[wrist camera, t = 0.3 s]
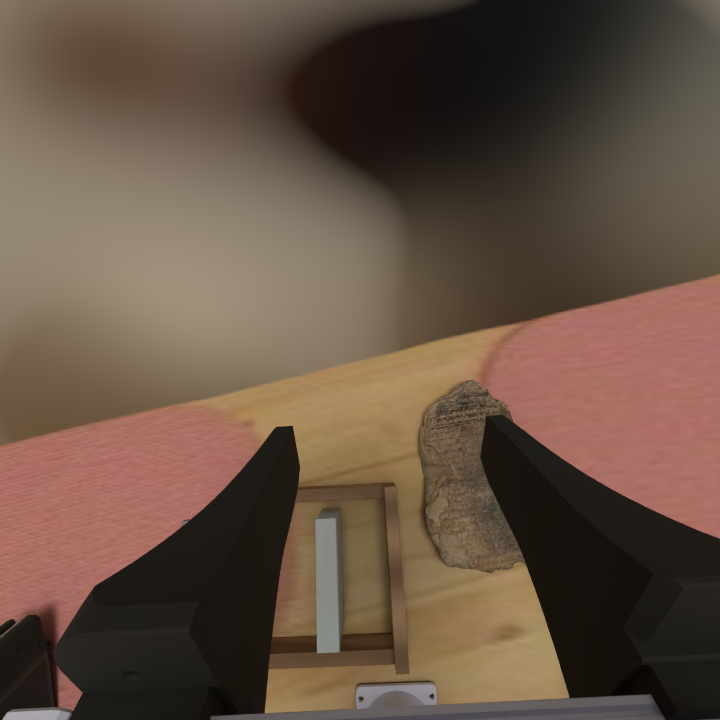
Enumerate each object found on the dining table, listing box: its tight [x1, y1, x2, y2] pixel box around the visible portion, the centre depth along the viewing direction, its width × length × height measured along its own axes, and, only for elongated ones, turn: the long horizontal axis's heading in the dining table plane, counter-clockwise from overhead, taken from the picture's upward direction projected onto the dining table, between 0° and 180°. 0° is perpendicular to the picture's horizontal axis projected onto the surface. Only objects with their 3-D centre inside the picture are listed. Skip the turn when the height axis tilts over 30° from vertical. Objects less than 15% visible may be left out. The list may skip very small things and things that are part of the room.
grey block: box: [315, 508, 344, 653], centre depth 34 cm, size 11×2×6 cm, turn 3°
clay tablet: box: [419, 380, 526, 573], centre depth 37 cm, size 14×5×20 cm
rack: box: [269, 483, 409, 674], centre depth 35 cm, size 16×19×4 cm
